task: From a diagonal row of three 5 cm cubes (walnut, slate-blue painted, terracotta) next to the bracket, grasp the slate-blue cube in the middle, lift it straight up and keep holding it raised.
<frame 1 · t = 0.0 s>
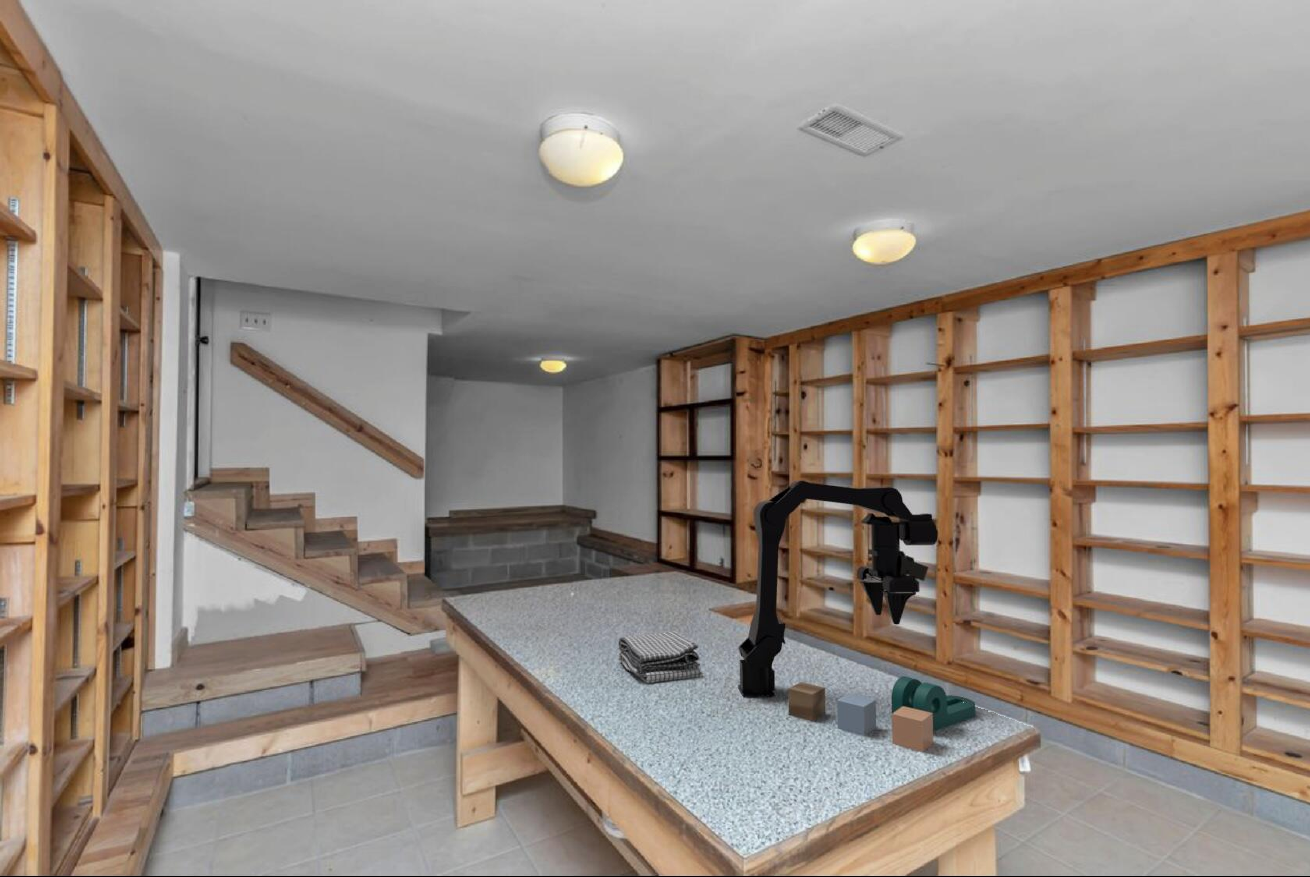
hand: (887, 619, 136), 15 cm above the table, fingers open, 9 cm apart
walnut cube: (807, 714, 121), on the table
terracotta cube: (912, 743, 108), on the table
blue cube: (856, 728, 115), on the table
bracket: (938, 720, 120), on the table
towel: (658, 671, 150), on the table
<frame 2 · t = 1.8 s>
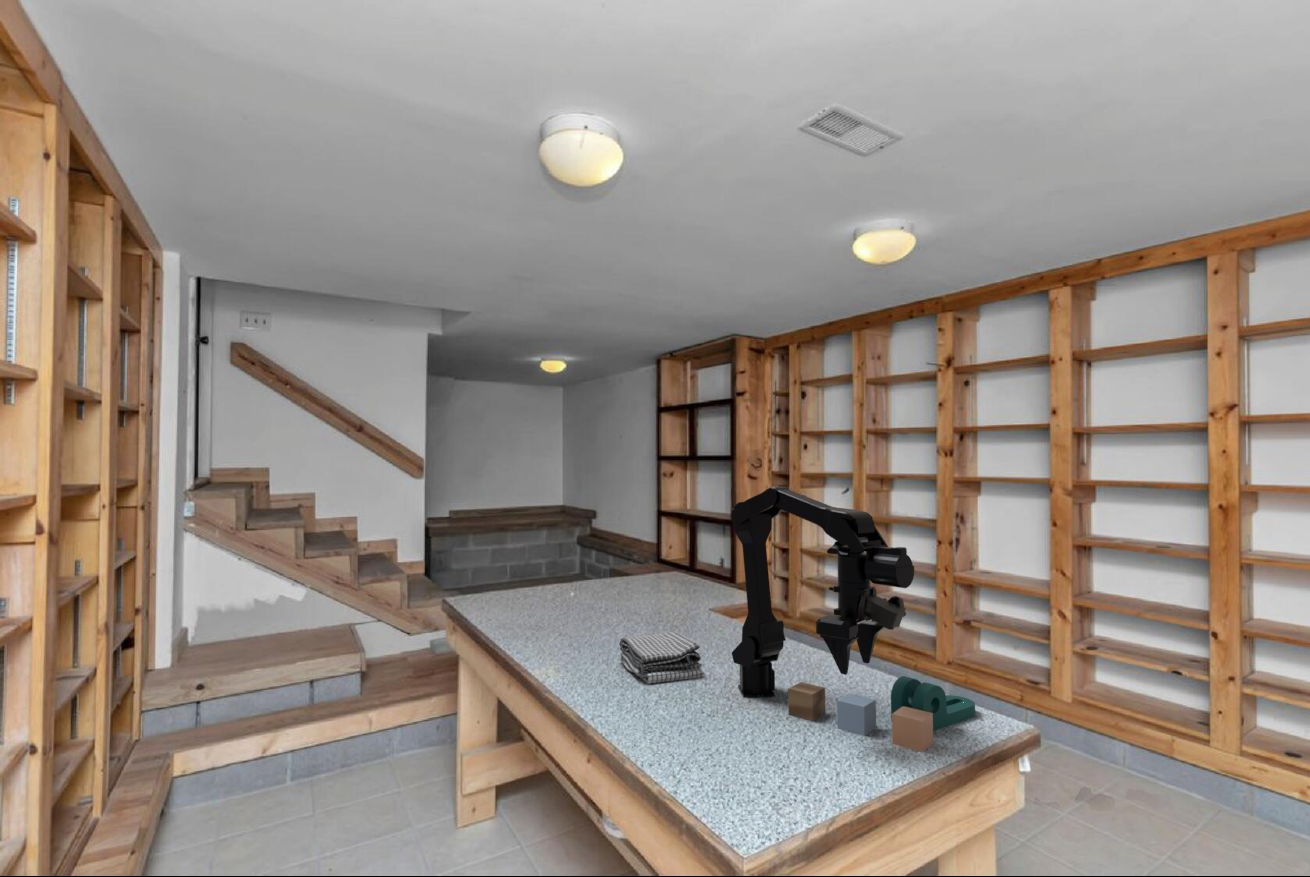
hand: (855, 668, 116), 10 cm above the table, fingers open, 9 cm apart
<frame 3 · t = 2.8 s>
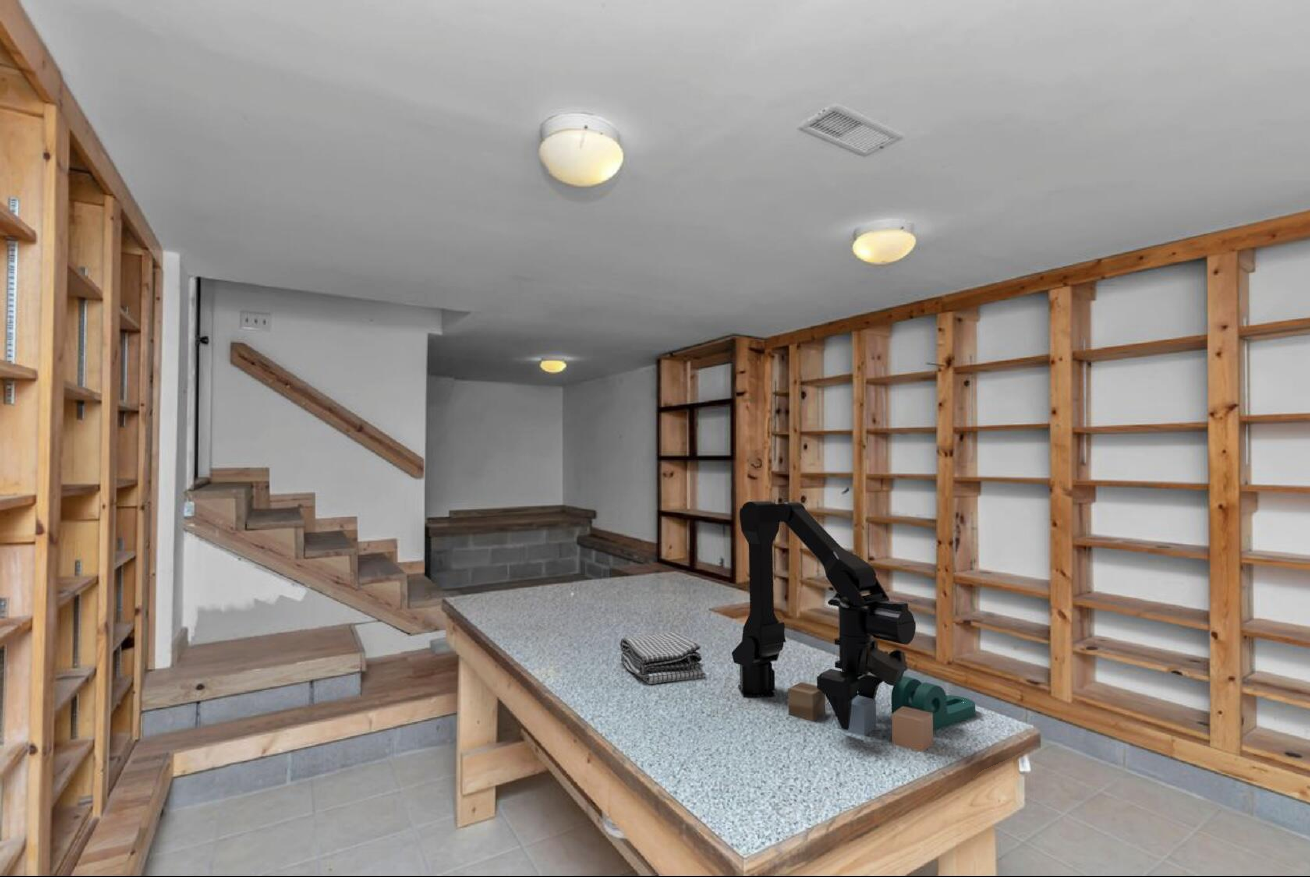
hand: (856, 721, 115), 1 cm above the table, fingers open, 9 cm apart
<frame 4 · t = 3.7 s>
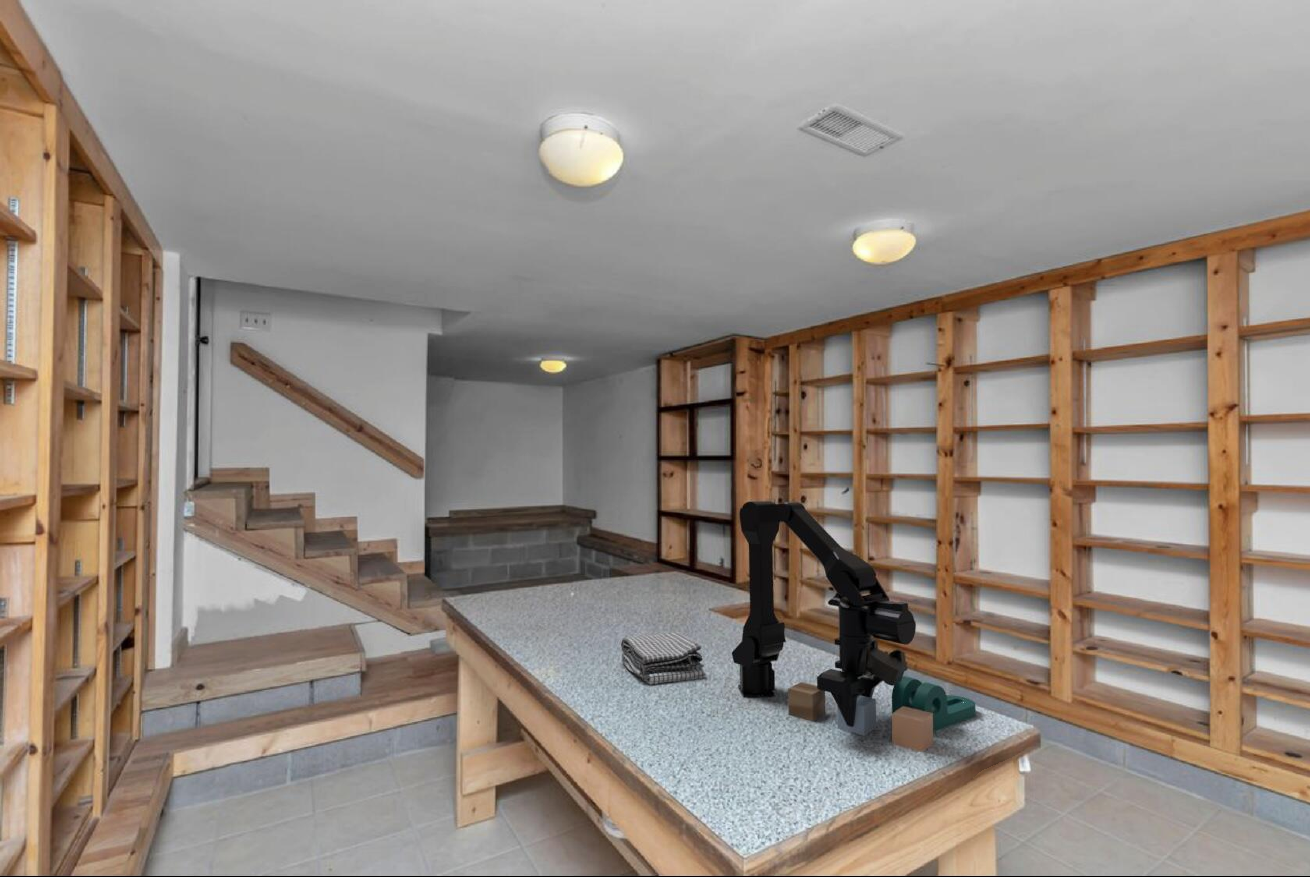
hand: (856, 721, 115), 1 cm above the table, fingers closed on blue cube, 5 cm apart
blue cube: (857, 727, 115), on the table, touching gripper
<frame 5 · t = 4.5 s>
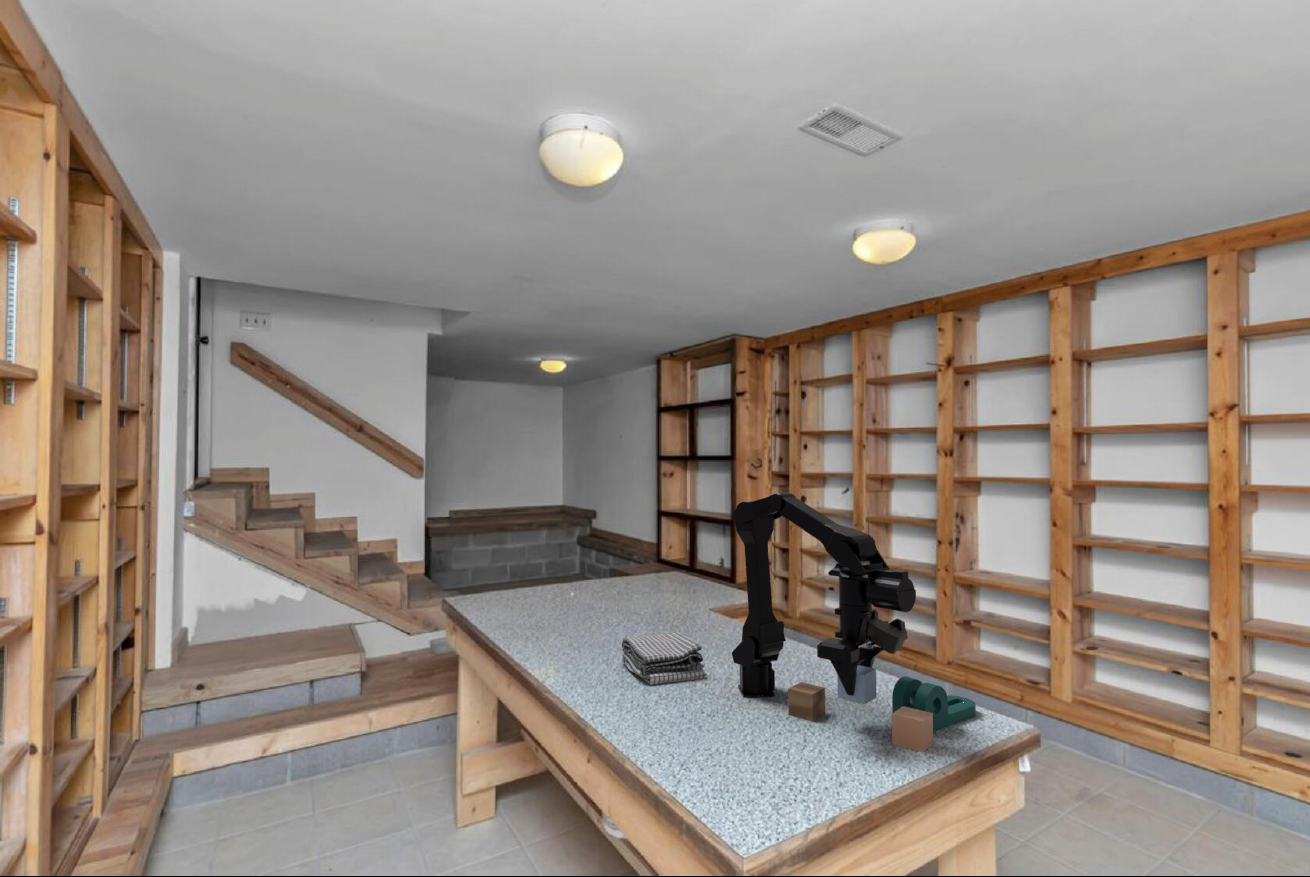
hand: (856, 691, 115), 6 cm above the table, fingers closed on blue cube, 5 cm apart
blue cube: (857, 697, 115), point 5 cm above the table, touching gripper
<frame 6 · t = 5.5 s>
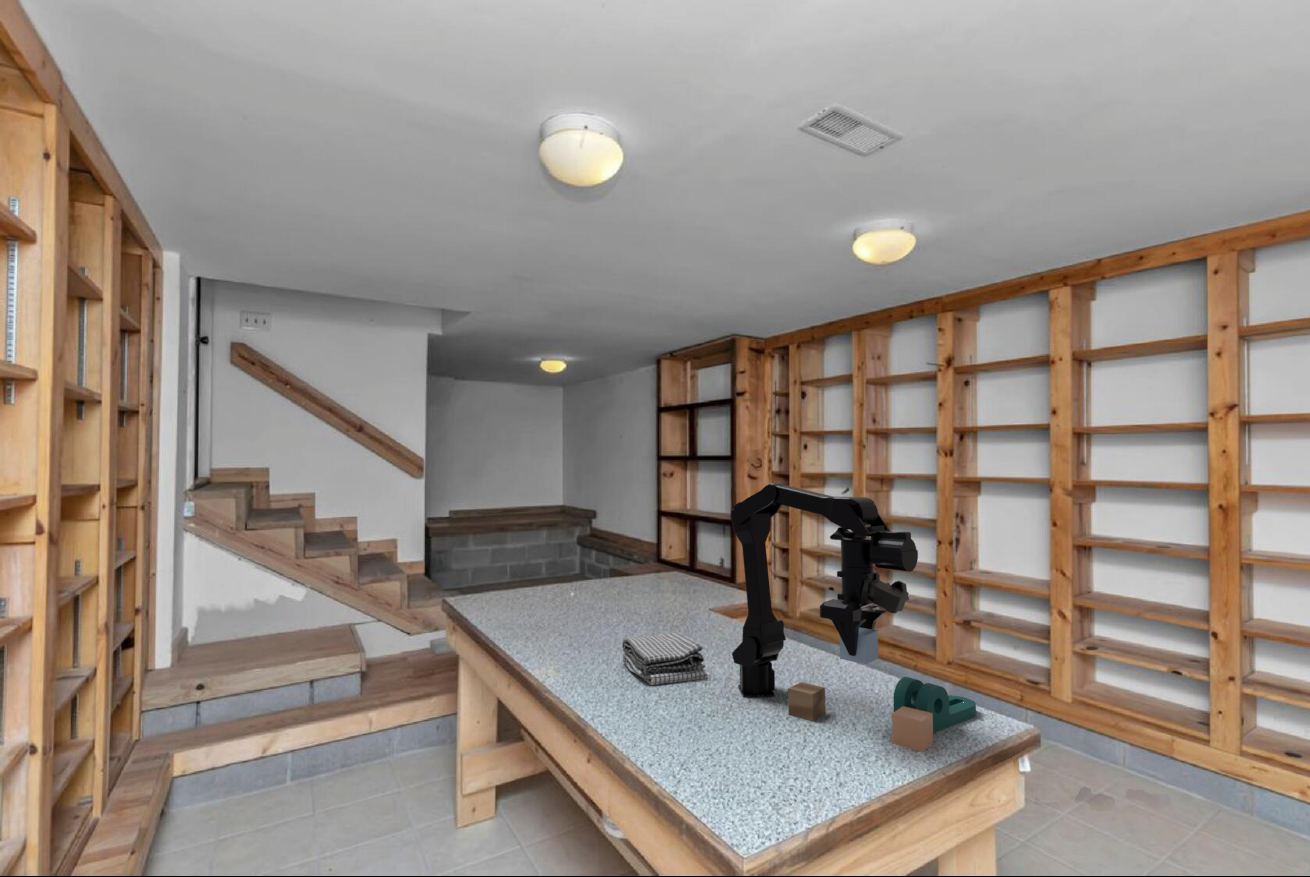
hand: (858, 652, 117), 13 cm above the table, fingers closed on blue cube, 5 cm apart
blue cube: (859, 658, 117), point 12 cm above the table, touching gripper
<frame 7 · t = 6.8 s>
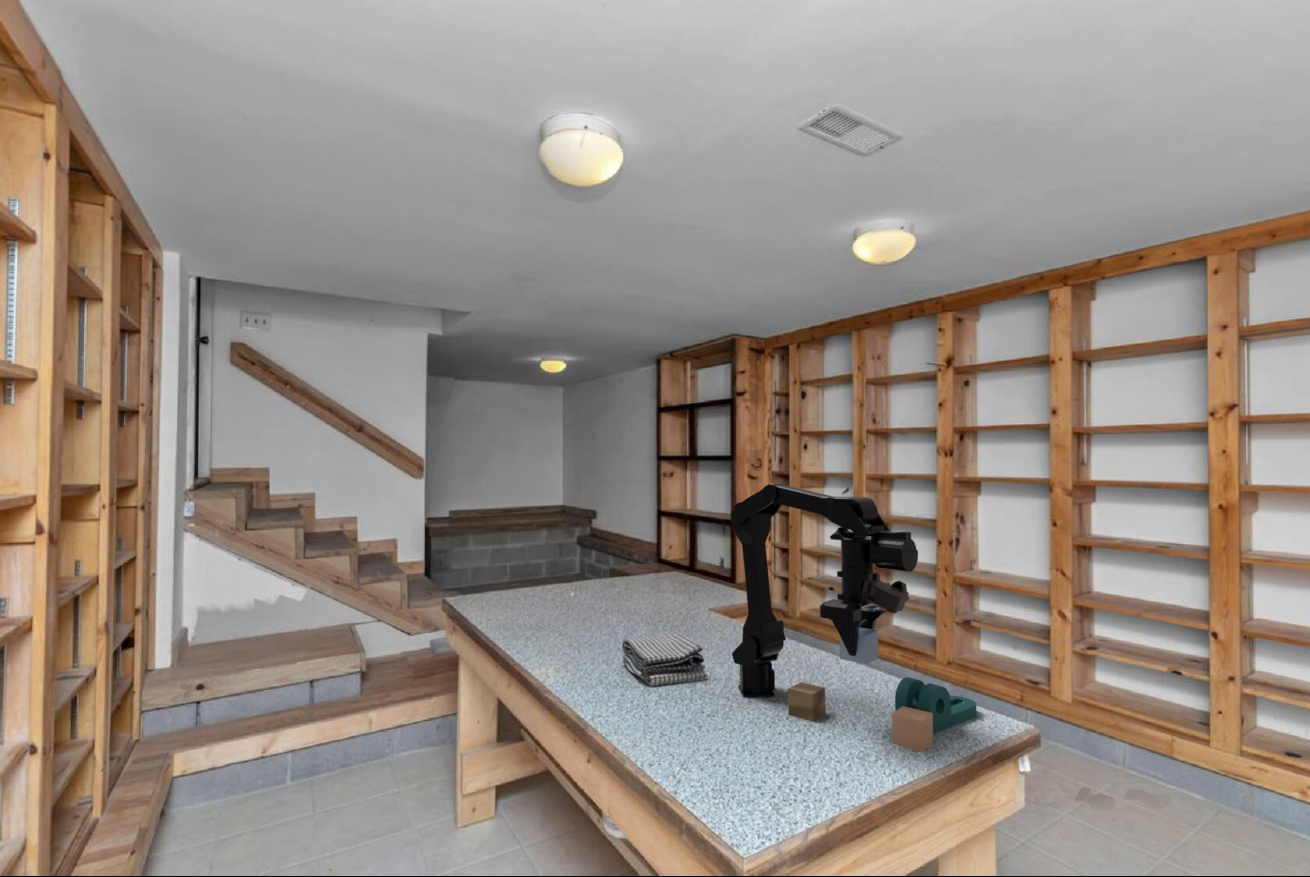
hand: (858, 652, 117), 13 cm above the table, fingers closed on blue cube, 5 cm apart
blue cube: (859, 658, 117), point 12 cm above the table, touching gripper
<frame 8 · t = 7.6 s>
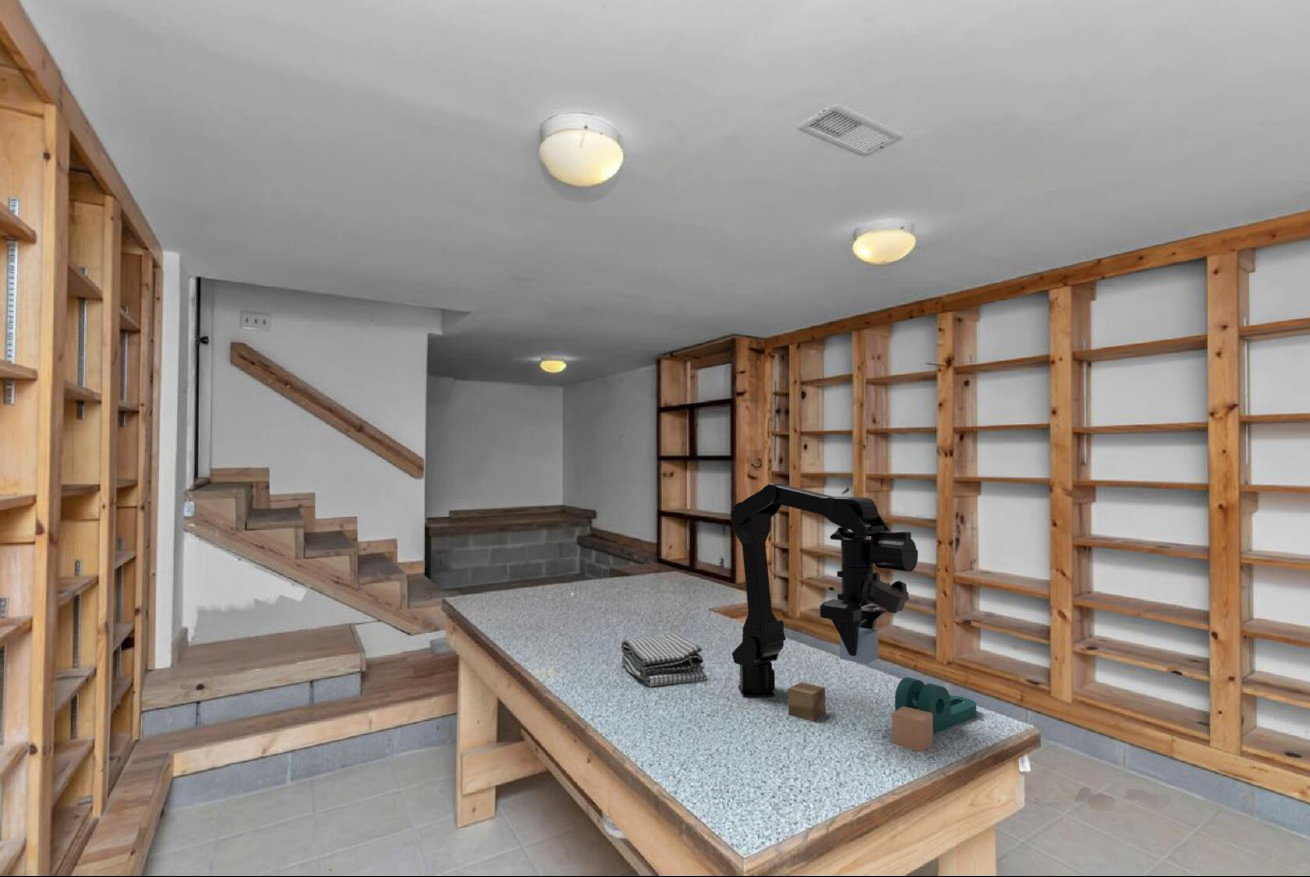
hand: (858, 652, 117), 13 cm above the table, fingers closed on blue cube, 5 cm apart
blue cube: (859, 658, 117), point 12 cm above the table, touching gripper
at the end: blue cube point 11.9 cm above the table; walnut cube moved 0.1 cm from its start; terracotta cube moved 0.1 cm from its start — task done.
